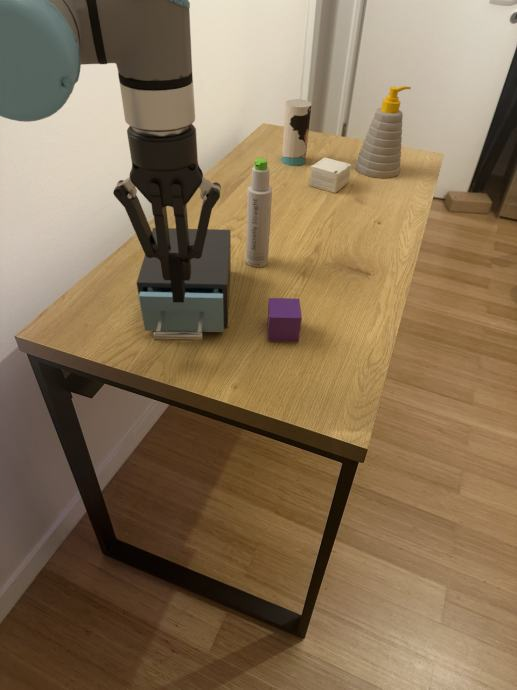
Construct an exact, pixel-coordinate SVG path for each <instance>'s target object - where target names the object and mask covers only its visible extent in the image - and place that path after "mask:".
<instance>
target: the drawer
mask: <svg viewBox="0 0 517 690" xmlns="http://www.w3.org/2000/svg"><path fill="white" fill-rule="evenodd" d="M147 289H148V292H140V294H138V300H139V305H140V311H141V317H142V322H143V327H144V331H147V332H148V331H149V332H153V341H154V342H194V343H196V342H197V343H202V342H203V340H204V333H224V332H225V331H224V330H225V328H224V311H223V293H221V289H207V288H185V291H186V292H185V298H184V303H178V302H173V296H172V288H161V287H147ZM203 332H204V333H203Z"/></svg>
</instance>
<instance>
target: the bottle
mask: <svg viewBox="0 0 517 690" xmlns="http://www.w3.org/2000/svg"><path fill="white" fill-rule="evenodd" d="M250 177H251V178H250V179H251V180H250V181H251V182H250V185H248V187H247V191H246V192H247V194H246V195H247V197H246V199H247V200H246V201H247V202H246V235H245V236H246V237H245V238H246V240H245V241H246V242H245V262H246V264H247V265H249V266H250V267H254V268H261V267H264V266H266V265H267V264H268V262H269V252H270V251H269V250H270V233H271V216H272V200H273V188H272V187H271V185H270V167H269V166H268V159H267V158H264V157H258V158H256V159H254V166H252V168H251V176H250Z"/></svg>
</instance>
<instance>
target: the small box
mask: <svg viewBox="0 0 517 690" xmlns="http://www.w3.org/2000/svg"><path fill="white" fill-rule="evenodd" d="M351 168H352V164H350V163H348V162H345V161H341V160H337V159H336V160H335V159H332V158H329V157H326V156H324V157H323V158H322V159H320V160H319V161H317V162H315V163H314V164H312V165H311V166H310V171H309V172H310V174H309V182H308V186H310V187H313V188H316V189H319V190H323V191H325V192H330V193H333V194H336V193H337V192H339V191H340V190H341V189H342V188H344V187H345V186H346V185H347V184H348V183H349V179H350V173H351V170H352V169H351Z"/></svg>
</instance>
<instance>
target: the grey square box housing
mask: <svg viewBox="0 0 517 690" xmlns="http://www.w3.org/2000/svg"><path fill="white" fill-rule="evenodd" d="M168 228H169V227H168ZM151 231H152V233H153V236H154V238H155V241H156V243H157V236H156V229H155V227H153V228H152V229H151ZM188 231H189V243H190V245H193V244H194V242H195V238H196V233H197V228H188ZM231 231H232V230H231V229H217V228H216V229H215V228H214V229H213V228H212V229H210V228H208V229H207V234H206V238H205V243H204V247H203V252H202V256H201V258H199V259H196V258H193V259H191V260H190V262H191V277H190V280H185V288H207V289H221V293H223V311H224V329H225V328H226V329H227V328H228V327H229V310H230V293H231V292H230V290H231V275H232V274H231V271H232V268H231V267H232V262H231V260H232V258H231V257H232V256H231V255H232V253H231V252H232V251H231V246H232V245H231V235H232V234H231V233H232V232H231ZM169 237H170V246H171V251H170V253H179V252H178V242H177V233H176V227H175V228H174V227H172V228H171V227H170V228H169ZM137 276H138V277H137V279H136V287H137V288H136V289H137V293H138V295H139V294H140V292H148V289H147V287H161V288H171V280H164V279H163V276H162V268H161V262H160V260H159V259H158V258H155V257H153V258H148V257H146V255H145V254H144V257H143V260H142V263H141V267H140V270H139V273H138V275H137Z"/></svg>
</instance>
